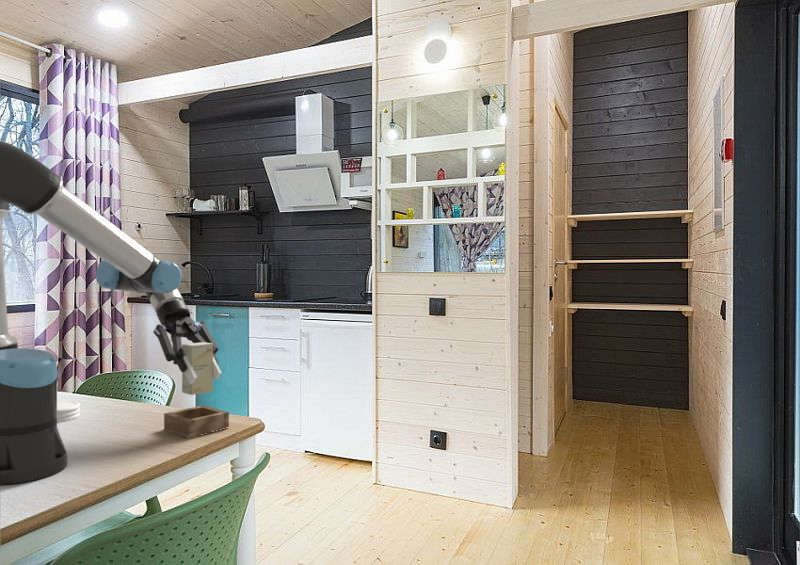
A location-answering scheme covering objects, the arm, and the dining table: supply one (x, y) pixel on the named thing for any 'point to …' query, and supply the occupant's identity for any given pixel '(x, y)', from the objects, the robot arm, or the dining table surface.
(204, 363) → the skincare box
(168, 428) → the holder
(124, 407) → the dining table surface
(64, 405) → the white round piece
